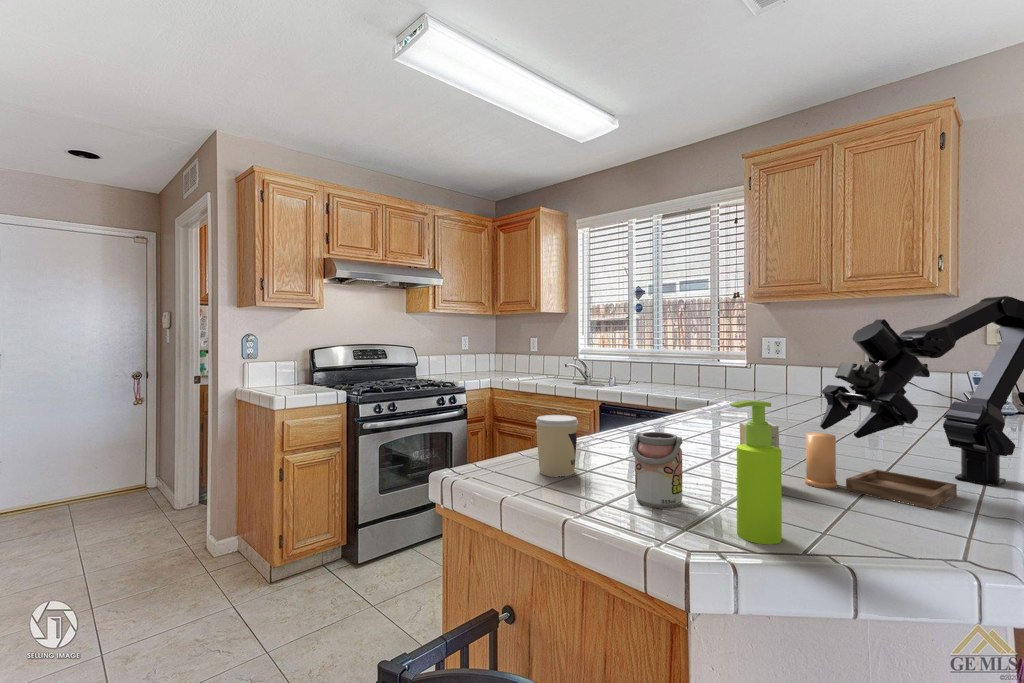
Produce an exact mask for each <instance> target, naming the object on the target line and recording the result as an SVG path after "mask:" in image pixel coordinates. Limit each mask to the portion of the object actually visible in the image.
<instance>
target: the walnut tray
mask: <svg viewBox="0 0 1024 683" xmlns="http://www.w3.org/2000/svg"><path fill="white" fill-rule="evenodd" d="M957 485H958V484H957V483H953V482H945V481H941V480H937V479H936V480H935V479H930V478H924V477H920V476H915V475H914V476H913V475H909V474H903V473H899V472H891V471H887V470H882V469H876V468H873V469H871V470H867V471H864V472H862V473H860V474H857V475H854V476H850V477H847V478H846V479H845V486H846V487H845V490H846V491H847V490H848V492H851V491H853V492H852V493H856V492H858V493H857V494H860V493H863V494H862V495H865V494H868V495H867V496H869V495H872V496H871V497H874V496H876V497H875V498H878V497H880V498H879V499H883V498H886V499H885V500H887V499H890V500H889V501H891V500H895V501H894V502H896V501H900V502H904V503H903V504H905V503H909V504H914V505H917V506H916V507H918V506H922V507H925V508H924V509H927V508H930V509H929V510H931V509H932V510H934V509H936V508H937V506H938V507H940V506H941V505H943V504H945V503H946V501H947V502H948V500H949V501H951V500H953V499H954V498H955V496H956V497H957V496H958V495H957V492H958V490H957V488H958V487H957ZM900 502H899V503H900ZM944 502H945V503H944ZM942 503H943V504H942ZM909 504H908V505H909ZM914 505H913V506H914ZM939 505H940V506H939ZM922 507H921V508H922ZM935 507H936V508H935ZM933 508H934V509H933Z"/></svg>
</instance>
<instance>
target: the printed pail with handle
mask: <svg viewBox="0 0 1024 683" xmlns="http://www.w3.org/2000/svg"><path fill="white" fill-rule="evenodd" d="M682 444H683V437H681V436H677V435H676V434H673V433H671V432H670V433H669V432H661V431H648V432H647V431H646V432H637V433H636V434H635V439H634V441H633V444H632V447H631V452H632V454H631V455H632V456H634V495H635V498H636V500H637V501H638V503H639V504H641V505H643V506H645V507H649V508H653V509H654V508H655V509H674V508H676V507H678V506H680V505H681V503H682V501H683V450H682V448H681V446H682Z"/></svg>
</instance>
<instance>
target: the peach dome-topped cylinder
mask: <svg viewBox="0 0 1024 683" xmlns="http://www.w3.org/2000/svg"><path fill="white" fill-rule="evenodd" d="M836 437H837V436H836V435H834V434H831V433H825V432H806V433H805V458H806V459H805V470H806V474H805V477H804V483H805V485H807V484H808V485H807V486H809V485H810V487H812V486H814V488H817V487H820V488H819V489H824V488H834V489H837V488H838V481H837V466H836V465H837V462H836V460H837V458H836V456H837V454H836V453H837V452H836V448H837V447H836V444H837V442H836V441H837V440H836ZM836 487H837V488H836Z"/></svg>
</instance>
